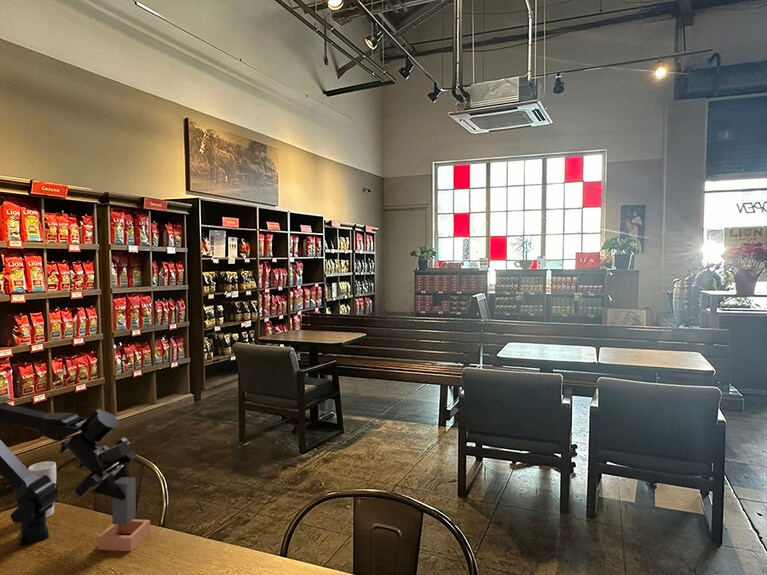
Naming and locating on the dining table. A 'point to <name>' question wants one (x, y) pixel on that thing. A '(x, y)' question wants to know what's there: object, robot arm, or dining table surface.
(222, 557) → the dining table surface
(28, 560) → the dining table surface
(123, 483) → the plug
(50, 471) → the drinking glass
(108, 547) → the socket
